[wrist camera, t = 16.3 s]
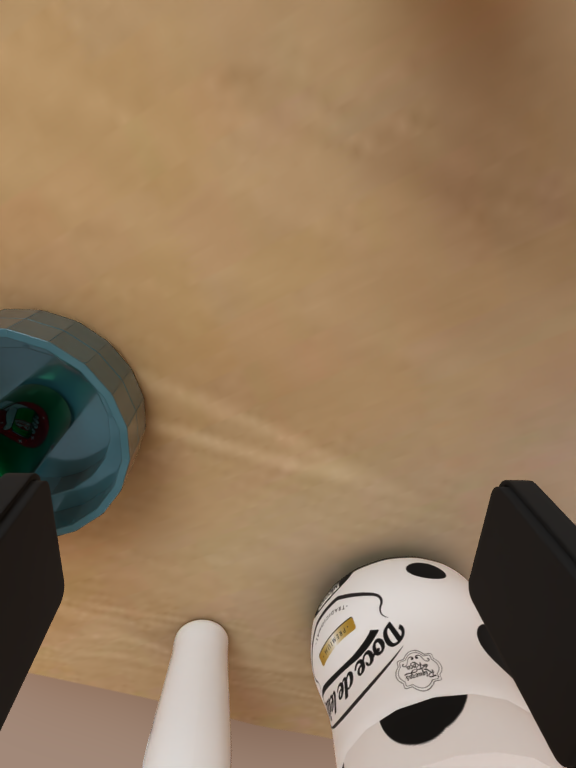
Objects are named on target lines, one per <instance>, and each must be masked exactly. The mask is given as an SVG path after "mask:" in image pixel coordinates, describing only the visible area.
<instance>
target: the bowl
mask: <svg viewBox="0 0 576 768" xmlns="http://www.w3.org/2000/svg"><path fill="white" fill-rule="evenodd" d="M25 384H39V385H43V386H46V387H49V388H51V389H53V390H54V391H56V392H57V393H59V394H60V395H61V396H62V397H63V398H64V400H65V401H66V402H67V404H68V406H69V409H70V412H71V424H70V427H69V429H68V431H67V432H66V434H65V435H64V436H63V437H62V439H61V440H60V441H59V442H58V444H57V445H56V446H55V447H54V449H53V450H52V451H51V452H50V454H49V455H48V456H47V457H46V459H45V460H44V461H43V462H42V464H41V465H40V466H39V468H38V469H37V470H36V471H35V473H36V474H38V475H39V477H40V479H41V481H47V482H48V483H49V487H50V492H51V499H52V505H53V512H54V519H55V525H56V532H57V536H60V535H63V534H67V533H71V532H74V531H77V530H78V529H80V528H82V527H83V526H85V525H86V524H88V523H89V522H91V521H92V520H94V519H96V518H97V517H99V516H100V515H102V514H103V513H104V512H105V511H106V509H107V508H108V507H109V505H110V504H111V503H112V502H113V500H114V499H115V498H116V496H117V495H118V494H119V493H120V491H121V490H122V488H123V485H124V483H125V481H126V479H127V477H128V474H129V472H130V470H131V468H132V465H133V463H134V461H135V459H136V457H137V454H138V452H139V448H140V445H141V442H142V438H143V435H144V432H145V427H146V421H145V407H144V398H143V395H142V393H141V390H140V388H139V386H138V383H137V381H136V379H135V376H134V374H133V372H132V369H130V367H129V365H128V364H127V363H126V362H125V361H124V360H123V358H122V357H121V356H120V355H119V354H118V353H117V351H116V350H115V349H114V348H113V347H112V346H111V344H110V343H109V342H108V341H106V340H105V339H103V338H102V337H100V336H99V335H97V334H96V333H94V332H93V331H91V330H90V329H88V328H87V327H85V326H84V325H82V324H81V323H79V322H77V321H74V320H71V319H68V318H65V317H62V316H58V315H55V314H52V313H49V312H46V311H42V310H23V309H3V310H0V400H1V399H2V398H3V397H4V396H6V395H7V394H8V393H9V392H11V391H12V390H13V389H15V388H16V387H18V386H21V385H25Z"/></svg>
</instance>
